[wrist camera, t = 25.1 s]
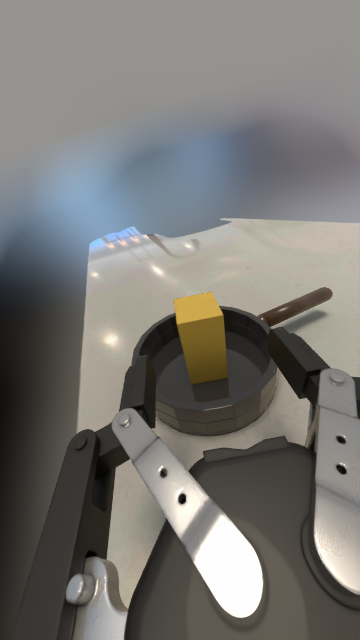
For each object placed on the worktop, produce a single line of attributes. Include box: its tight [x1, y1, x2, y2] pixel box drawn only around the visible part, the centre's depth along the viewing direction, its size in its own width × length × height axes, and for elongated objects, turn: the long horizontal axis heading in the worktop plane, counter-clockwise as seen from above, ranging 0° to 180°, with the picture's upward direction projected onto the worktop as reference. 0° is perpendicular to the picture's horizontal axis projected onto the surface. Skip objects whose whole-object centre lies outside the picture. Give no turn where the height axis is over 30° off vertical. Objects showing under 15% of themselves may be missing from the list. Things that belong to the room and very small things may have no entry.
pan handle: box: [257, 287, 333, 327], centre depth 27 cm, size 13×2×2 cm, turn 113°
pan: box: [132, 306, 279, 436], centre depth 24 cm, size 17×17×4 cm
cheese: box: [174, 292, 228, 385], centre depth 23 cm, size 5×4×9 cm
